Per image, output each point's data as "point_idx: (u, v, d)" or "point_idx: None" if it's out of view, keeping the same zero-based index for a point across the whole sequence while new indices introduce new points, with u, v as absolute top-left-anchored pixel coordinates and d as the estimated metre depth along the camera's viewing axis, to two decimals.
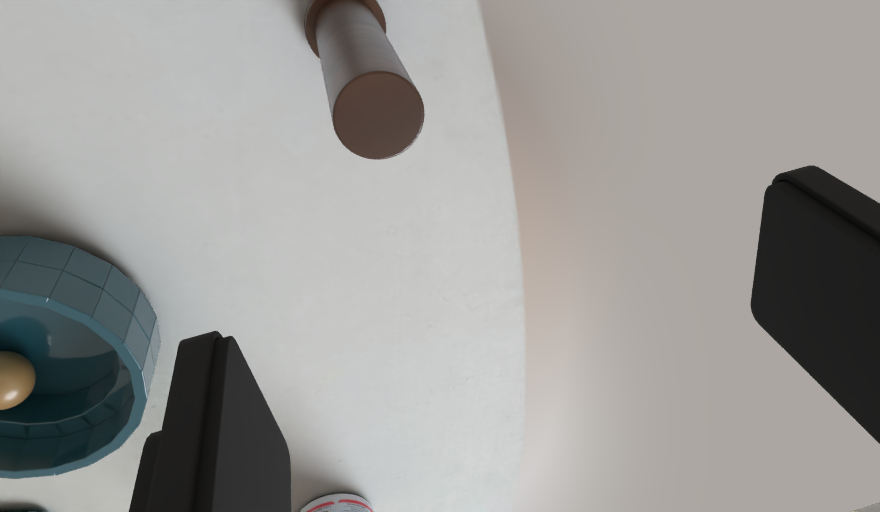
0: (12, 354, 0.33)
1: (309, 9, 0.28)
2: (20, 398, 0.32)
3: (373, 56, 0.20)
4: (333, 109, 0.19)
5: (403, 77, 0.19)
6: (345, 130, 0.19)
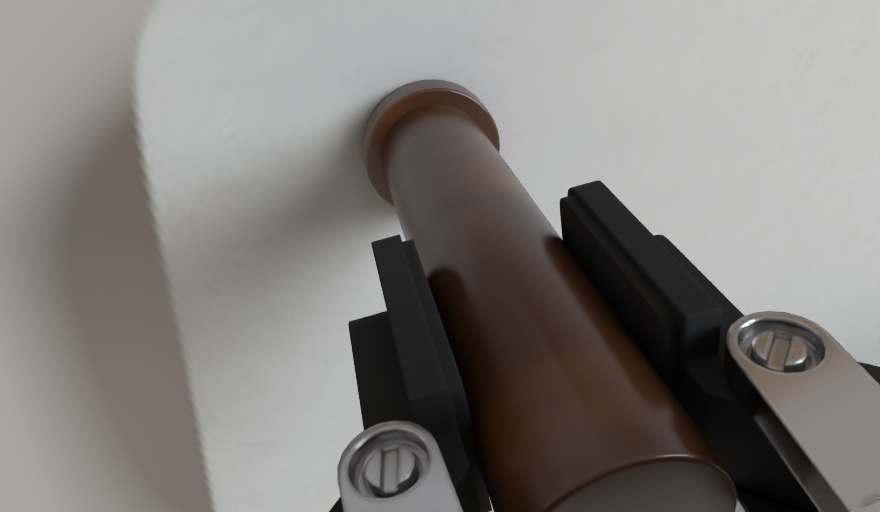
0: None
1: None
2: None
3: (479, 445, 0.08)
4: None
5: (540, 506, 0.07)
6: None
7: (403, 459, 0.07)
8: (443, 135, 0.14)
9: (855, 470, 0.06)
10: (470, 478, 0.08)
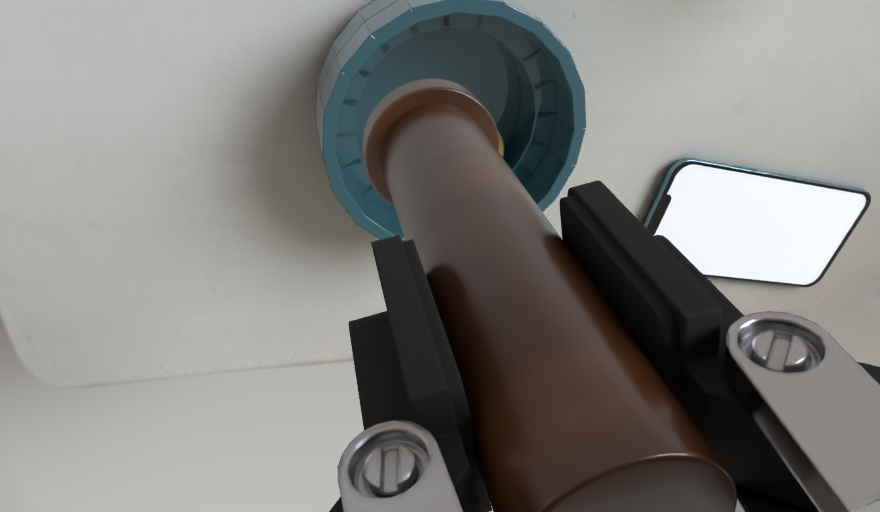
0: None
1: None
2: None
3: (478, 445, 0.08)
4: None
5: (539, 506, 0.07)
6: None
7: (403, 459, 0.07)
8: (442, 133, 0.14)
9: (855, 470, 0.06)
10: (470, 478, 0.08)
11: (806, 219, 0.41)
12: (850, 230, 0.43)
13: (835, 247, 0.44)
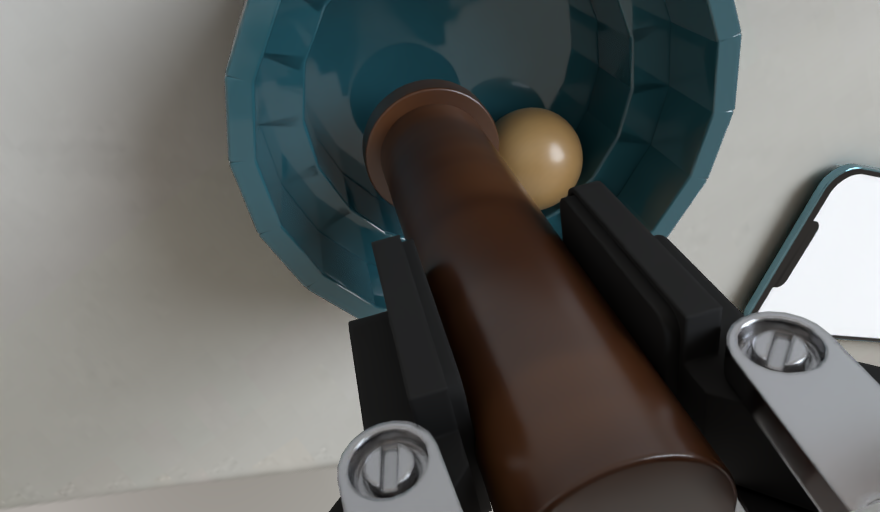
0: None
1: None
2: (572, 144, 0.17)
3: (478, 446, 0.08)
4: None
5: (539, 507, 0.07)
6: None
7: (403, 459, 0.07)
8: (442, 134, 0.14)
9: (855, 470, 0.06)
10: (470, 478, 0.08)
11: None
12: None
13: None
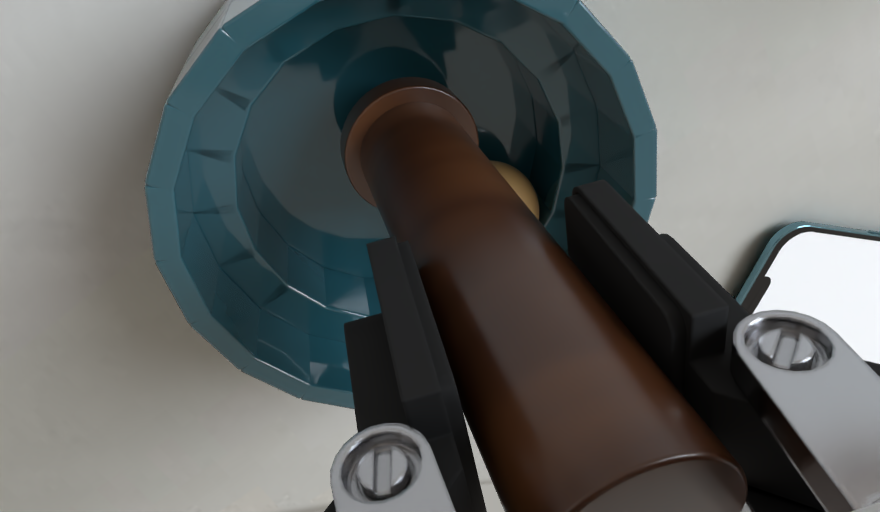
0: None
1: None
2: (532, 203, 0.18)
3: (488, 453, 0.08)
4: None
5: None
6: None
7: (396, 462, 0.07)
8: (424, 134, 0.14)
9: (864, 468, 0.06)
10: (464, 480, 0.08)
11: None
12: None
13: None
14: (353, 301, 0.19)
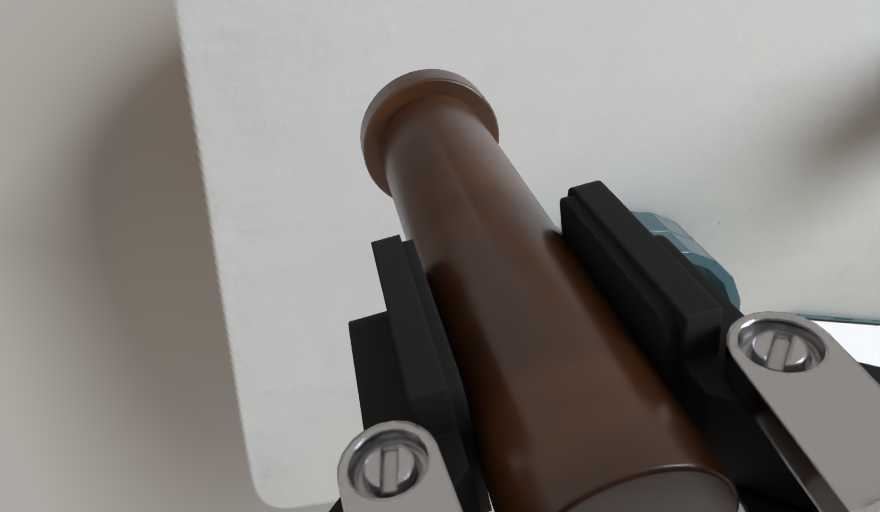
0: None
1: None
2: None
3: (480, 452, 0.08)
4: None
5: None
6: None
7: (403, 459, 0.07)
8: (440, 127, 0.14)
9: (856, 470, 0.06)
10: (470, 478, 0.08)
11: None
12: None
13: None
14: None
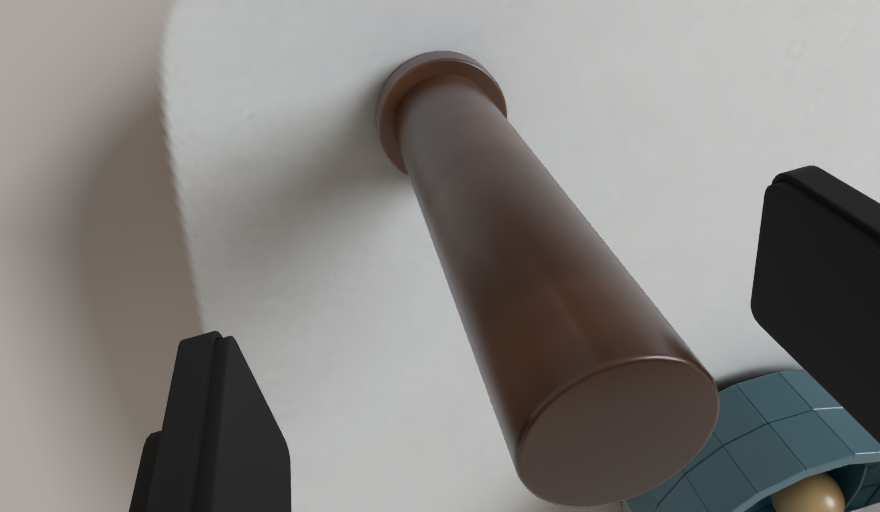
0: None
1: None
2: (844, 504, 0.29)
3: (484, 366, 0.09)
4: (583, 505, 0.09)
5: (537, 405, 0.08)
6: (632, 486, 0.09)
7: None
8: (451, 100, 0.15)
9: None
10: None
11: None
12: None
13: None
14: None
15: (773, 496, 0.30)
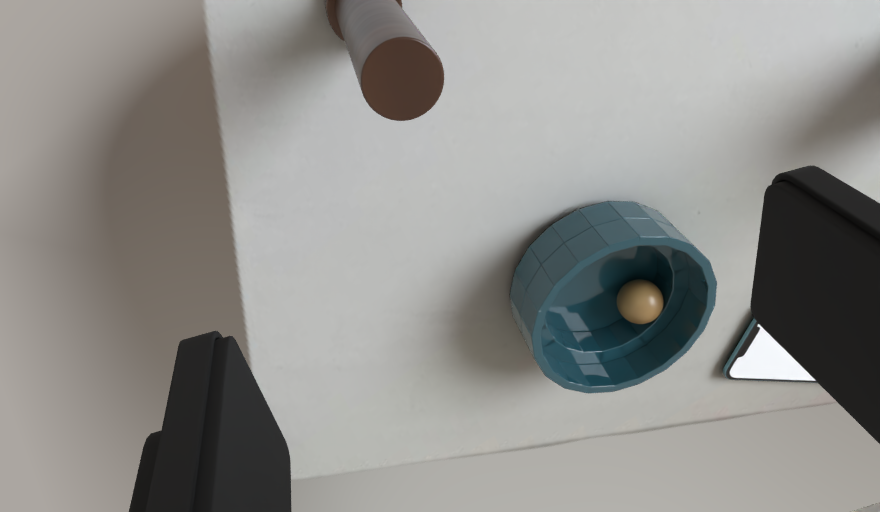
0: (632, 284, 0.42)
1: None
2: (663, 302, 0.42)
3: (355, 67, 0.22)
4: None
5: (366, 58, 0.20)
6: (414, 110, 0.21)
7: None
8: None
9: None
10: None
11: None
12: None
13: None
14: (574, 344, 0.43)
15: (617, 301, 0.42)
